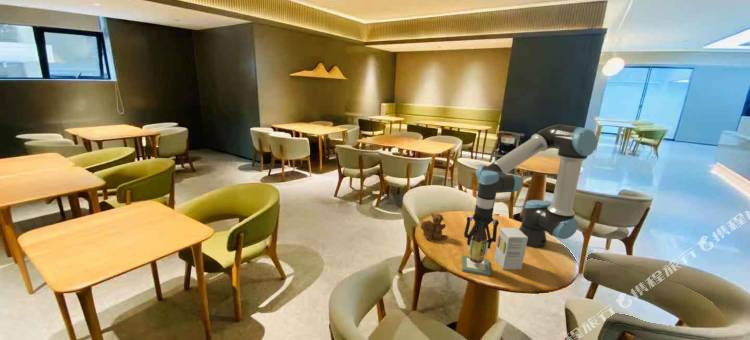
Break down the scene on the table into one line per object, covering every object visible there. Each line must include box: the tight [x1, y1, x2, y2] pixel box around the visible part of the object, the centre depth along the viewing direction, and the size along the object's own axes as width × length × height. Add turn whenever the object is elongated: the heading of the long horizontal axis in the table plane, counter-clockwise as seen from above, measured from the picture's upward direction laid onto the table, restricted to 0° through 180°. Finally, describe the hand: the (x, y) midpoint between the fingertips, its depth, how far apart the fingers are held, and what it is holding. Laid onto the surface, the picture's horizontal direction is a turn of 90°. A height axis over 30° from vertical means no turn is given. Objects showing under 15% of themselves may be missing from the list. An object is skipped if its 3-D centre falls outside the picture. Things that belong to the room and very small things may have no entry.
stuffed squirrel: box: [419, 212, 448, 241], centre depth 167 cm, size 10×14×13 cm
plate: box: [461, 254, 491, 277], centre depth 143 cm, size 12×12×1 cm
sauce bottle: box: [469, 222, 488, 263], centre depth 139 cm, size 6×6×20 cm
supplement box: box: [494, 227, 528, 270], centre depth 144 cm, size 10×9×17 cm
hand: (477, 252), depth 141 cm, fingers closed on sauce bottle, 6 cm apart
